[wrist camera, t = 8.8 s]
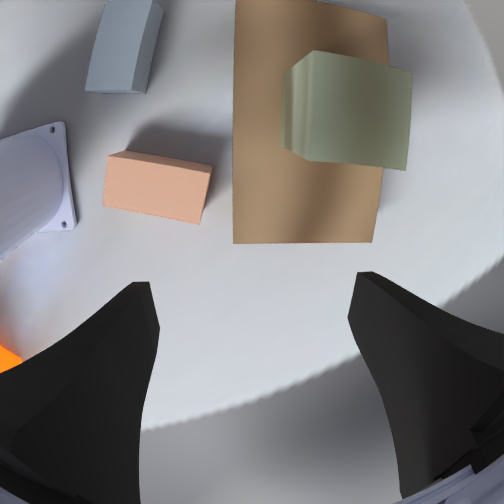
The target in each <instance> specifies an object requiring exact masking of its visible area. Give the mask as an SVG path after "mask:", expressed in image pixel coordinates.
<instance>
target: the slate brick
mask: <svg viewBox="0 0 504 504" xmlns="http://www.w3.org/2000/svg"><path fill="white" fill-rule="evenodd" d="M163 15H164V11H163V9H162V8H161V6H160V5H159V3H158V2H157V0H110V1H107V2H106V5H105V8H104V11H103V14H102V17H101V21H100V24H99V28H98V31H97V35H96V39H95V43H94V47H93V51H92V55H91V60H90V65H89V70H88V75H87V80H86V86H85V91H89V92H96V93H103V94H111V93H141V94H146V89H147V84H148V78H149V73H150V68H151V63H152V59H153V54H154V50H155V45H156V41H157V37H158V33H159V29H160V26H161V22H162V18H163Z"/></svg>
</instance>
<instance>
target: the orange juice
mask: <svg viewBox="0 0 504 504" xmlns="http://www.w3.org/2000/svg"><path fill="white" fill-rule="evenodd" d="M21 363H23V362H22V359H21V358H20V357H18V356H16V355H15V354H13V353H11V352H10V351H8V350H7V349H5V348H4V347H2V346H1V345H0V373H1V372H3V371H6V370H8V369H10V368H12V367H14V366H16V365H19V364H21Z"/></svg>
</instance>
